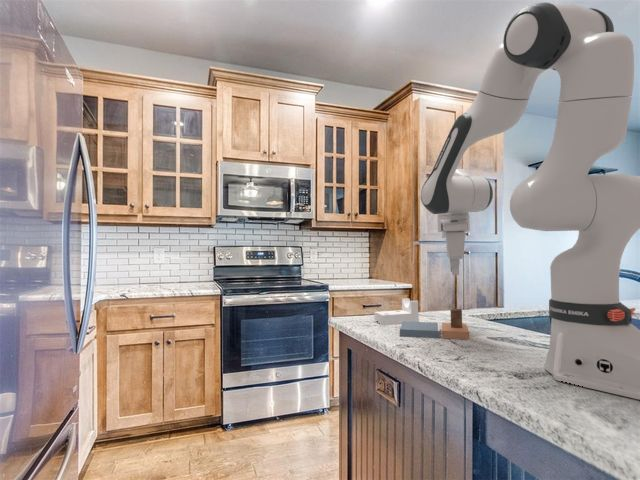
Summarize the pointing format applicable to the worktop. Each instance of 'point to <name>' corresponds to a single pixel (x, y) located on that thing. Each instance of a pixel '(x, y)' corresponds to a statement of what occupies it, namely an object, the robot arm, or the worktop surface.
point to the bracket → (399, 314)
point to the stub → (455, 326)
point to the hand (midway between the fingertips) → (454, 273)
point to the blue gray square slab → (420, 329)
